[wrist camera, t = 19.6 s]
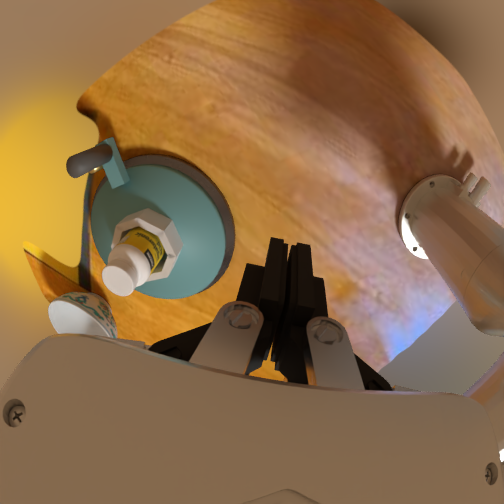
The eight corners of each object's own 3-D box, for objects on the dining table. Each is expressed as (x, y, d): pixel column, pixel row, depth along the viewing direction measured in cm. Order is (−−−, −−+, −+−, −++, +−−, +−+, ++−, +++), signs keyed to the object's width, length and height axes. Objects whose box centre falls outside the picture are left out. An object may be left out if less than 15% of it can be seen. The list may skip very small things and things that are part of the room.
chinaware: (138, 339, 50) (124, 367, 44) (81, 324, 51) (65, 349, 45) (119, 280, 43) (98, 309, 36) (59, 269, 44) (37, 293, 37)
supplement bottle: (177, 244, 35) (149, 291, 26) (150, 262, 37) (120, 308, 28) (151, 211, 33) (113, 251, 24) (125, 232, 35) (88, 273, 26)
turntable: (65, 167, 32) (24, 188, 24) (180, 105, 27) (146, 108, 19) (134, 300, 43) (111, 338, 35) (246, 280, 39) (238, 326, 31)
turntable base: (117, 125, 30) (97, 130, 26) (267, 208, 34) (265, 224, 30) (81, 247, 40) (67, 262, 36) (195, 313, 45) (188, 333, 41)
